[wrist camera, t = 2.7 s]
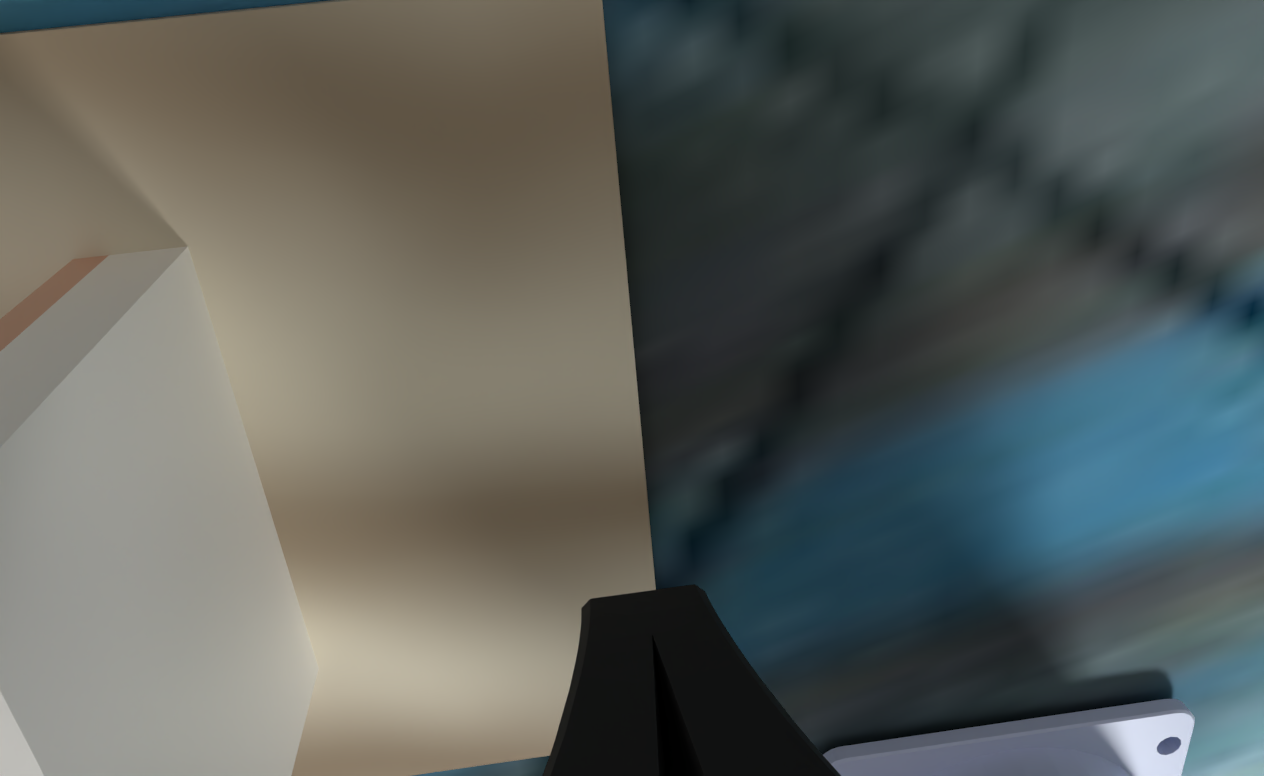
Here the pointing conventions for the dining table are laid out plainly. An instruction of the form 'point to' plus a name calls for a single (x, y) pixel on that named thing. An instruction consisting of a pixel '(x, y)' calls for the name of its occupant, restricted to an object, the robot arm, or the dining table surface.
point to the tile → (137, 540)
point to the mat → (380, 325)
